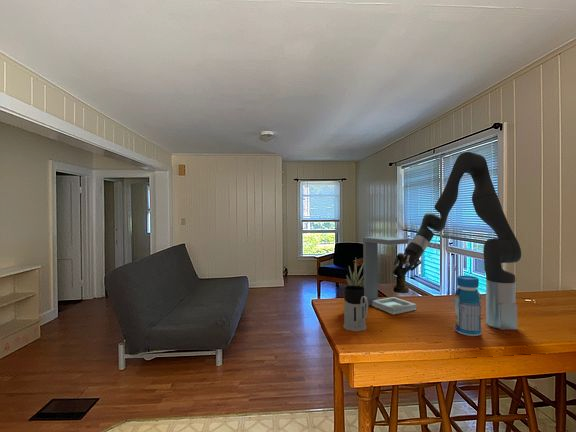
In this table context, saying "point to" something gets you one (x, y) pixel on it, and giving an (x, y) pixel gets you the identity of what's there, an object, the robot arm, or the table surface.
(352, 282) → the potted plant
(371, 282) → the overhang shelf
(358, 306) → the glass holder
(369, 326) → the table surface
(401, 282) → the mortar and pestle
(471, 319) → the beverage bottle
